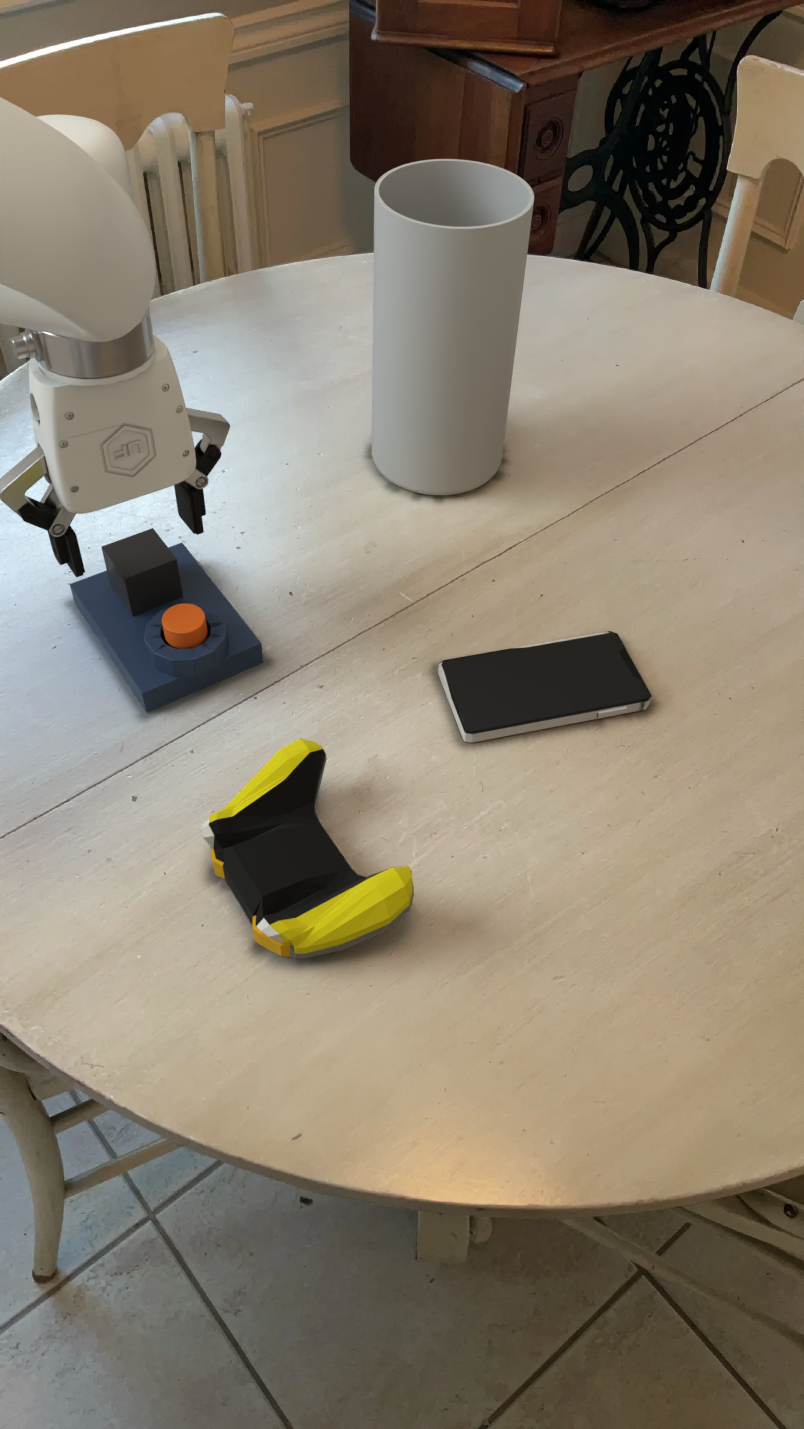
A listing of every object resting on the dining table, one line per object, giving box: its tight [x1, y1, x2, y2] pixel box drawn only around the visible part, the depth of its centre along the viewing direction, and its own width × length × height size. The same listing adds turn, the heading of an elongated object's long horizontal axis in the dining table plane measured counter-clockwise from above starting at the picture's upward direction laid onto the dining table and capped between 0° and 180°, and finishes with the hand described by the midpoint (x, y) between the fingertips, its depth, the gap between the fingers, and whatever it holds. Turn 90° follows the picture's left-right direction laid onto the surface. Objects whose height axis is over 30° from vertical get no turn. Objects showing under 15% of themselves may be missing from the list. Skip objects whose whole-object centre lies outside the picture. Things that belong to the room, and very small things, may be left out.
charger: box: [101, 527, 183, 616], centre depth 83 cm, size 5×4×4 cm
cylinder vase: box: [371, 158, 535, 496], centre depth 92 cm, size 12×12×25 cm
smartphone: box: [437, 630, 653, 743], centre depth 82 cm, size 8×1×15 cm
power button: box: [162, 603, 207, 649], centre depth 79 cm, size 3×3×2 cm
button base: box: [69, 542, 264, 713], centre depth 83 cm, size 15×10×4 cm
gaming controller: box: [199, 738, 415, 959], centre depth 68 cm, size 15×6×10 cm
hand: (133, 544), depth 80 cm, fingers open, 9 cm apart
